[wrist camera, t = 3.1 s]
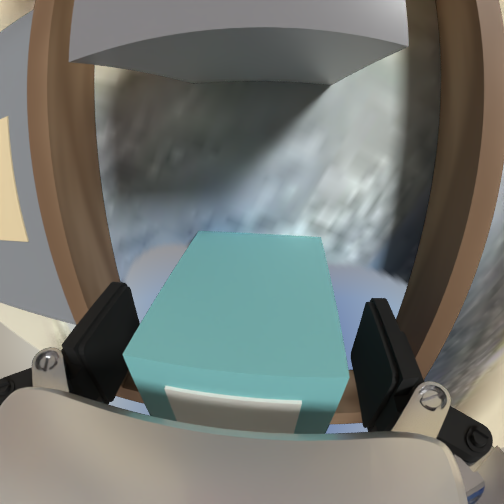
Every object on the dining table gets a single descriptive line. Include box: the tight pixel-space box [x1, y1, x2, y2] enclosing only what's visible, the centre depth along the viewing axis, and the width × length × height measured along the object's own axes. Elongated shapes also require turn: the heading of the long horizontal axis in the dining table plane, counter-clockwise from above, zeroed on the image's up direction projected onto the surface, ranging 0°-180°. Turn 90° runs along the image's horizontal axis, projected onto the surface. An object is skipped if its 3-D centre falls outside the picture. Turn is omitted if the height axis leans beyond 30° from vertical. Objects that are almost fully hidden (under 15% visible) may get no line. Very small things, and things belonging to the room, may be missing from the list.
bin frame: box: [27, 0, 504, 424], centre depth 9 cm, size 16×24×3 cm
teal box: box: [123, 231, 350, 434], centre depth 10 cm, size 5×5×7 cm
